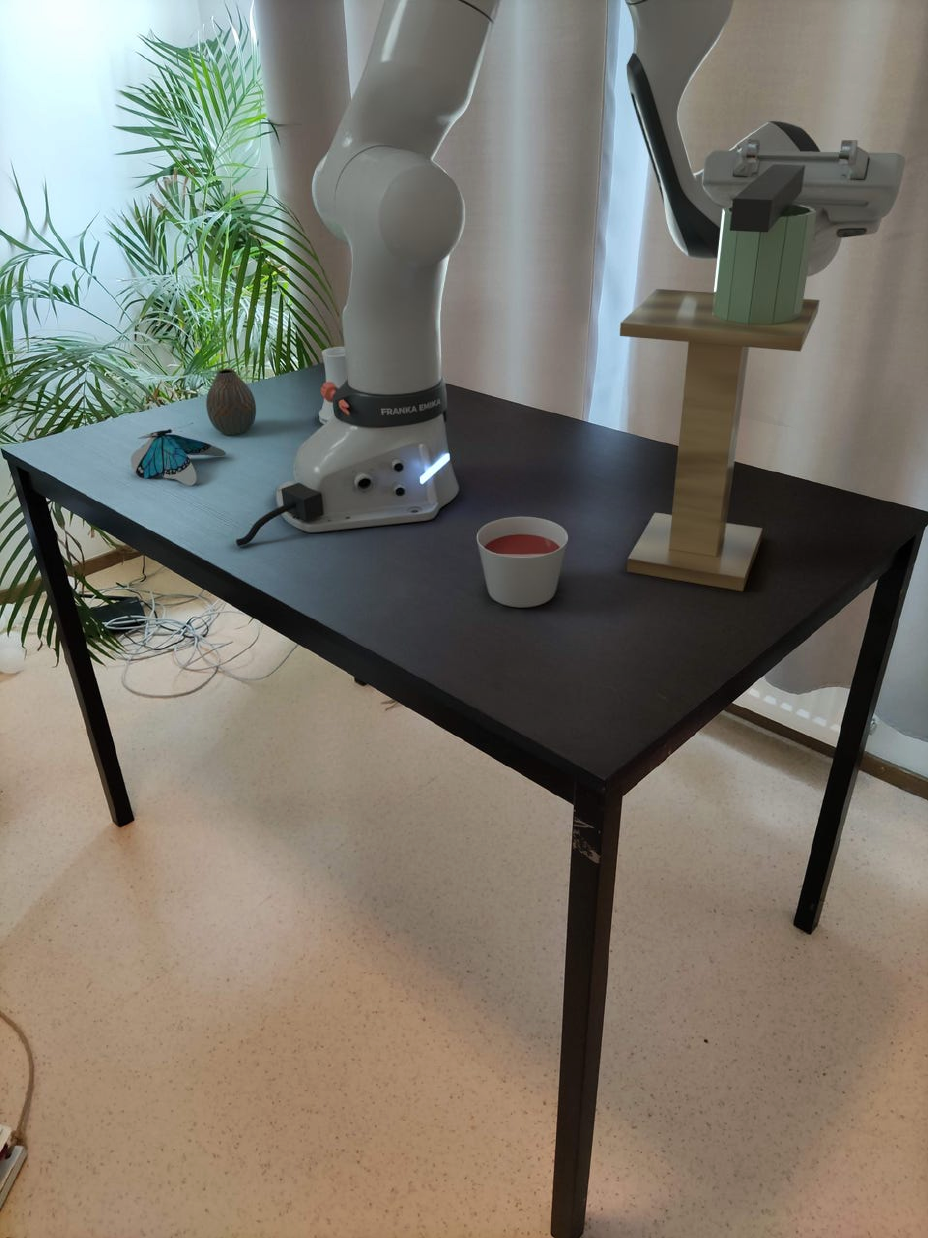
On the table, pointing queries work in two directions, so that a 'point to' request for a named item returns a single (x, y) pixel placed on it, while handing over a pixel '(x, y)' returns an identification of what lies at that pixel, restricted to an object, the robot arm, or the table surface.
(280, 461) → the table surface
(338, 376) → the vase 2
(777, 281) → the green cup
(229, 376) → the vase
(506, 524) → the white sauce bowl
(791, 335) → the birch stand
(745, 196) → the black bar
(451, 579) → the table surface
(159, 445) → the decorative butterfly
